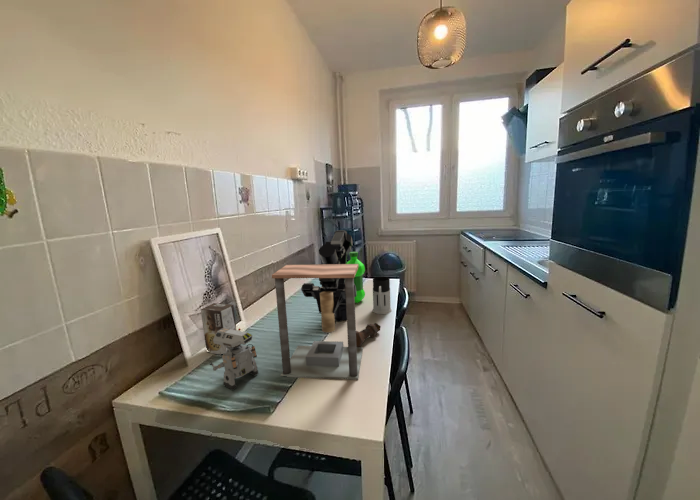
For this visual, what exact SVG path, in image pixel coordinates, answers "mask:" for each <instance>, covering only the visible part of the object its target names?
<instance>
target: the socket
mask: <svg viewBox="0 0 700 500" xmlns="http://www.w3.org/2000/svg"><path fill="white" fill-rule="evenodd" d="M310 346H311V348H310V350H309V352H308V354H307V356H306V365H310V366H339V364H340V361H341V357H342V354H343V350H344V347H345V346H344V341H336V340H335V341H332V340H331V341H327V340H326V341H325V340H313V341H312V344H311V345H310ZM319 352H334V353H333V354H318V353H319Z"/></svg>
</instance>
